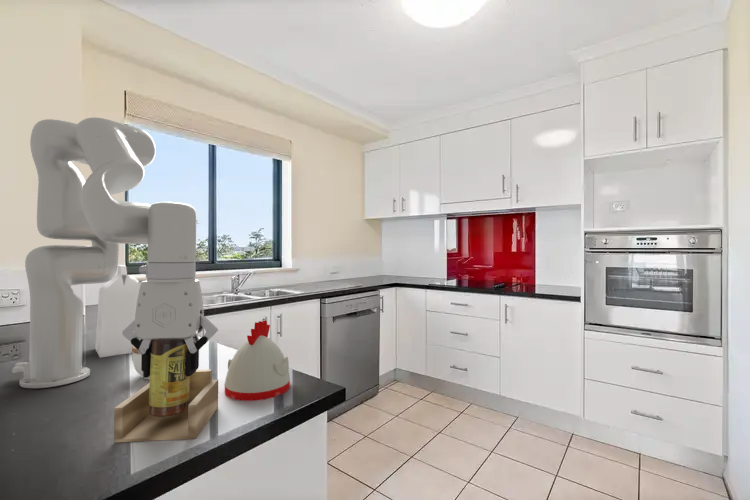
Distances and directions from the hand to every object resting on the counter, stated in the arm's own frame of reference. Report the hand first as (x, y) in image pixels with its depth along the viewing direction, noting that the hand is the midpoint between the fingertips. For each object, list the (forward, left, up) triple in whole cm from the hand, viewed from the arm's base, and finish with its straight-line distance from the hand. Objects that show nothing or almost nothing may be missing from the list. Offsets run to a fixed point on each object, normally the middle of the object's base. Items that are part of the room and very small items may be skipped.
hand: (170, 373), depth 65 cm
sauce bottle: (0, 0, -7) cm, 7 cm away
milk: (-36, +53, -9) cm, 65 cm away
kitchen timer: (+12, +16, -9) cm, 22 cm away
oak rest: (0, 0, -9) cm, 9 cm away
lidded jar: (-14, +27, -9) cm, 32 cm away
